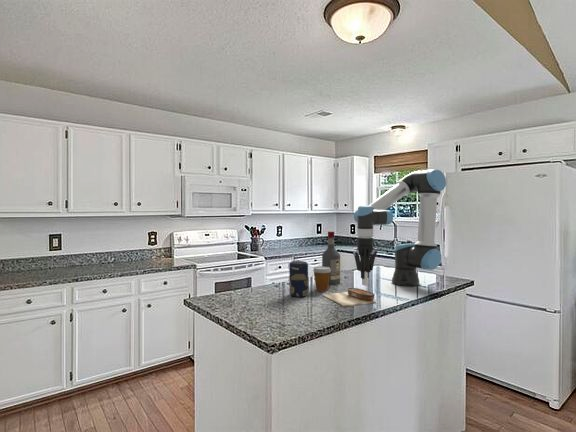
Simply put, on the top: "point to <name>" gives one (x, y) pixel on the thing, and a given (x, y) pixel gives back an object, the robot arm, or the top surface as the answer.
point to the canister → (298, 278)
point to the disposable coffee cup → (321, 277)
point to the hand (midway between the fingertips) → (364, 285)
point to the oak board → (347, 299)
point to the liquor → (332, 260)
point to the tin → (361, 294)
